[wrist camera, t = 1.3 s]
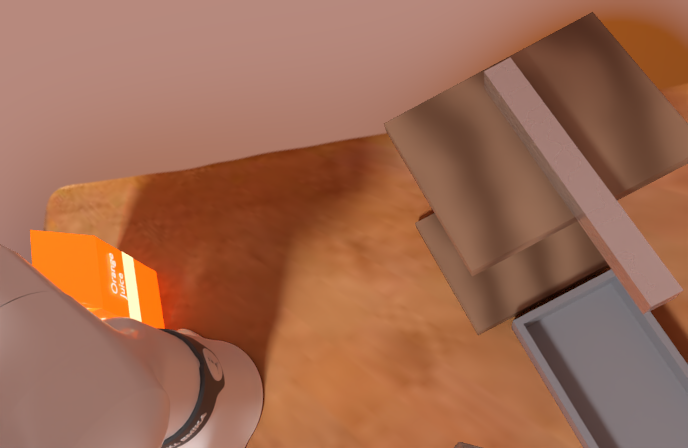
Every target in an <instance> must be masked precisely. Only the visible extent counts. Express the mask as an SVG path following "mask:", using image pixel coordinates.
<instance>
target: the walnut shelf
mask: <svg viewBox="0 0 688 448" xmlns="http://www.w3.org/2000/svg"><path fill="white" fill-rule="evenodd" d="M508 58H511V59H512V60H513V62H514V63H515V64H516V66H517V67H518V68H519V70H520V71H521V72H522V74H523V75H524V76H525V78H526V79H527V80H528V82H529V83H530V84H531V86H532V87H533V88H534V90H535V91H536V93H537V94H538V95H539V97H540V98H541V99H542V101H543V102H544V103H545V105H546V106H547V107H548V109H549V110H550V111H551V113H552V114H553V115H554V117H555V118H556V119H557V121H558V122H559V123H560V125H561V126H562V127H563V129H564V130H565V132H566V133H567V134H568V136H569V137H570V138H571V140H572V141H573V142H574V144H575V145H576V146H577V148H578V149H579V150H580V152H581V153H582V154H583V156H584V157H585V158H586V160H587V161H588V162H589V164H590V165H591V167H592V168H593V169H594V171H595V172H596V173H597V175H598V176H599V177H600V179H601V180H602V181H603V183H604V184H605V185H606V187H607V188H608V189H609V191H610V192H611V193H612V195H613V196H614V197H615V199H616V200H619V199H621V198H623V197H625V196H627V195H628V194H630V193H632V192H634V191H636V190H638V189H640V188H642V187H644V186H646V185H648V184H649V183H651V182H653V181H655V180H657V179H659V178H661V177H663V176H665V175H667V174H668V173H670V172H672V171H674V170H676V169H678V168H680V167H682V166H684V165H686V164H688V123H687V122H686V121H685V120H684V119H683V118H682V116H681V115H680V114H679V113H678V112H677V110H676V109H675V108H674V107H673V106H672V105H671V103H670V102H669V101H668V100H667V99H666V98H665V96H664V95H663V94H662V93H661V92H660V91H659V89H658V88H657V87H656V86H655V85H654V83H653V82H652V81H651V80H650V79H649V78H648V76H647V75H646V74H645V73H644V72H643V71H642V69H640V67H639V66H638V65H637V64H636V62H635V61H634V60H633V59H632V58H631V57H630V55H629V54H628V53H627V52H626V51H625V49H623V47H622V46H621V45H620V44H619V42H618V41H617V40H616V39H615V38H614V37H613V35H612V34H611V33H610V32H609V31H608V30H607V28H606V27H605V26H604V25H603V24H602V22H601V21H600V20H599V19H598V18H597V17H596V16H595V14H594V13H593V12H592V13H590V14H588V15H586V16H584V17H582V18H581V19H579V20H577V21H575V22H573V23H571V24H569V25H568V26H566V27H564V28H562V29H560V30H558V31H556V32H555V33H553V34H551V35H549V36H547V37H545V38H543V39H541V40H539V41H538V42H536V43H534V44H532V45H531V46H528V47H526V48H525V49H523V50H521V51H519V52H517V53H515V54H514V55H511V56H510V57H508ZM508 58H506V59H508ZM506 59H504V60H506ZM504 60H502V61H500V62H498V63H497V64H499V63H501V62H503V61H504ZM497 64H494V65H493V66H495V65H497ZM493 66H491V67H493ZM491 67H489V68H491ZM489 68H487V69H485V70H483V71H481V72H480V73H478V74H476V75H474V76H472V77H470V78H468V79H467V80H465V81H463V82H461V83H459V84H457V85H455V86H453V87H452V88H450V89H448V90H446V91H444V92H442V93H440V94H438V95H436V96H435V97H433V98H431V99H429V100H427V101H425V102H424V103H421V104H420V105H418V106H416V107H414V108H412V109H410V110H408V111H407V112H405V113H403V114H401V115H399V116H397V117H395V118H393V119H392V120H390V121H388V122H386V123H384V125H385V129H386V132H387V134H388V135H389V137H390V139H391V140H392V142H393V144H394V145H395V147H396V149H397V150H398V152H399V154H400V156H401V157H402V159H403V161H404V162H405V164H406V166H407V167H408V169H409V171H410V172H411V174H412V176H413V177H414V179H415V181H416V183H417V184H418V186H419V188H420V189H421V191H422V193H423V194H424V196H425V198H426V199H427V201H428V203H429V205H430V206H431V208H432V210H433V211H434V213H433V214H431V215H430V216H428V217H426V218H424V219H422V220H420V221H418V222H416V223H415V224H416V228H417V229H418V231H419V233H420V235H421V236H422V238H423V240H424V242H425V243H426V245H427V247H428V249H429V250H430V252H431V254H432V256H433V257H434V259H435V261H436V263H437V264H438V266H439V268H440V270H441V271H442V273H443V275H444V277H445V278H446V280H447V282H448V284H449V285H450V287H451V289H452V291H453V292H454V294H455V296H456V298H457V299H458V301H459V303H460V305H461V306H462V308H463V310H464V312H465V313H466V315H467V317H468V319H469V320H470V322H471V324H472V326H473V327H474V329H475V331H476V333H477V334H478V335H479V334H481V333H483V332H485V331H487V330H489V329H491V328H493V327H495V326H497V325H499V324H501V323H502V322H504V321H506V320H508V319H510V318H512V317H514V316H516V315H518V314H520V313H522V312H523V311H525V310H527V309H529V308H531V307H533V306H535V305H537V304H539V303H541V302H543V301H545V300H546V299H548V298H550V297H552V296H554V295H556V294H558V293H560V292H562V291H564V290H566V289H568V288H569V287H571V286H573V285H575V284H577V283H579V282H581V281H583V280H585V279H587V278H589V277H590V276H592V275H594V274H596V273H598V272H600V271H602V270H604V269H606V268H608V267H610V266H609V265H608V264H607V262H606V261H605V259H604V258H603V256H602V255H601V254H600V252H599V251H598V249H597V248H596V246H595V245H594V244H593V242H592V241H591V239H590V238H589V236H588V235H587V234H586V232H585V231H584V229H583V228H582V226H581V225H580V224H579V222H578V221H577V219H576V218H575V216H574V215H573V214H572V212H571V211H570V209H569V208H568V206H567V205H566V204H565V202H564V201H563V199H562V198H561V196H560V195H559V194H558V192H557V191H556V189H555V188H554V186H553V185H552V184H551V182H550V181H549V179H548V178H547V176H546V175H545V174H544V172H543V171H542V169H541V168H540V166H539V165H538V164H537V162H536V161H535V159H534V158H533V156H532V155H531V154H530V152H529V151H528V149H527V148H526V146H525V145H524V144H523V142H522V141H521V139H520V138H519V136H518V135H517V134H516V132H515V131H514V129H513V128H512V126H511V125H510V124H509V122H508V121H507V119H506V118H505V116H504V115H503V114H502V112H501V111H500V109H499V108H498V106H497V105H496V104H495V102H494V101H493V99H492V98H491V96H490V95H489V94H488V92H487V91H486V89H485V88H484V71H486V70H488V69H489Z"/></svg>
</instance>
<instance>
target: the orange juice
mask: <svg viewBox="0 0 688 448" xmlns="http://www.w3.org/2000/svg"><path fill="white" fill-rule="evenodd" d="M30 237H31V251H32V266H34V267H35V268H36V269H37V270H38V271H40V272H41V273H42V274H43V275H44V276H45V277H47V278H48V279H49V280H50V281H51V282H53V283H54V284H55V285H56V286H57V287H59V288H60V289H61V290H62V291H63V292H64V293H66V294H68V295H70V296H71V297H73V298H74V299H75V300H77V301H78V302H79V303H80V304H82V305H83V306H84V307H85V308H87V309H88V310H89V311H91V312H92V313H93V314H95V315H96V316H97V317H99V318H100V319H102V320H104V319H108V318H113V317H128V318H132V319H135V320H138V321H140V322H142V323H145V324H147V325H150V326H152V327H155V328H162V329H165V327H164V321H163V314H162V307H161V301H160V294H159V288H158V281H157V274H156V271H154V270H152V269H150V268H149V267H147V266H145V265H144V264H142V263H140V262H138V261H137V260H135V259H133V258H132V257H131V256H129V255H127V254H125V253H124V252H121V251H119V250H118V249H116V248H114V247H112V246H111V245H109V244H107V243H105V242H104V241H102V240H100V239H99V238H97V237H95V236H93V235H92V236H91V235H80V234H69V233H59V232H48V231H37V230H30Z"/></svg>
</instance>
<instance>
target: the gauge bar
mask: <svg viewBox="0 0 688 448" xmlns="http://www.w3.org/2000/svg"><path fill="white" fill-rule="evenodd" d="M484 88H485V89H486V91H487V92H488V94H489V95H490V96H491V98H492V99H493V101H494V102H495V104H496V105H497V106H498V108H499V109H500V111H501V112H502V114H503V115H504V116H505V118H506V119H507V121H508V122H509V124H510V125H511V126H512V128H513V129H514V131H515V132H516V134H517V135H518V136H519V138H520V139H521V141H522V142H523V144H524V145H525V146H526V148H527V149H528V151H529V152H530V154H531V155H532V156H533V158H534V159H535V161H536V162H537V164H538V165H539V166H540V168H541V169H542V171H543V172H544V174H545V175H546V176H547V178H548V179H549V181H550V182H551V184H552V185H553V186H554V188H555V189H556V191H557V192H558V194H559V195H560V196H561V198H562V199H563V201H564V202H565V204H566V205H567V206H568V208H569V209H570V211H571V212H572V214H573V215H574V216H575V218H576V219H577V221H578V222H579V224H580V225H581V226H582V228H583V229H584V231H585V232H586V234H587V235H588V236H589V238H590V239H591V241H592V242H593V244H594V245H595V246H596V248H597V249H598V251H599V252H600V254H601V255H602V256H603V258H604V259H605V261H606V262H607V264H608V265H609V266H610V268H611V269H612V271H613V272H614V274H615V275H616V276H617V278H618V279H619V281H620V282H621V283H622V285H623V286H624V288H625V289H626V291H627V292H628V293H629V295H630V296H631V298H632V299H633V301H634V302H635V303H636V305H637V306H638V308H639V309H640V311H641V312H642V313H643V315H644V314H646V313H648V312H650V311H651V310H653V309H655V308H657V307H659V306H661V305H663V304H665V303H667V302H669V301H671V300H673V299H674V298H675V297H676V296H678V295H679V294H680V293H681V292H682V291H683V289H682V288H681V286H680V285H679V284H678V282H677V281H676V280H675V278H674V277H673V276H672V274H671V273H670V271H669V270H668V269H667V267H666V266H665V265H664V263H663V262H662V261H661V259H660V258H659V257H658V255H657V254H656V253H655V251H654V250H653V249H652V247H651V246H650V245H649V243H648V242H647V241H646V239H645V238H644V237H643V235H642V234H641V232H640V231H639V230H638V228H637V227H636V226H635V224H634V223H633V222H632V220H631V219H630V218H629V216H628V215H627V214H626V212H625V211H624V210H623V208H622V207H621V206H620V204H619V203H618V202H617V200H616V199H615V197H614V196H613V195H612V193H611V192H610V191H609V189H608V188H607V187H606V185H605V184H604V183H603V181H602V180H601V179H600V177H599V176H598V175H597V173H596V172H595V171H594V169H593V168H592V167H591V165H590V164H589V162H588V161H587V160H586V158H585V157H584V156H583V154H582V153H581V152H580V150H579V149H578V148H577V146H576V145H575V144H574V142H573V141H572V140H571V138H570V137H569V136H568V134H567V133H566V132H565V130H564V129H563V127H562V126H561V125H560V123H559V122H558V121H557V119H556V118H555V117H554V115H553V114H552V113H551V111H550V110H549V109H548V107H547V106H546V105H545V103H544V102H543V101H542V99H541V98H540V97H539V95H538V94H537V93H536V91H535V90H534V88H533V87H532V86H531V84H530V83H529V82H528V80H527V79H526V78H525V76H524V75H523V74H522V72H521V71H520V70H519V68H518V67H517V66H516V64H515V63H514V62H513V60H512V59H511V58H508V59H506V60H504V61H503V62H501V63H499V64H497V65H495V66H493V67H491V68H489V69H488V70H486V71H484Z"/></svg>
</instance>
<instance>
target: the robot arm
mask: <svg viewBox="0 0 688 448" xmlns="http://www.w3.org/2000/svg"><path fill="white" fill-rule="evenodd" d="M262 404H263V388H262V382H261V378H260V375H259V372H258V370H257V368H256V366H255V364H254V363H253V361H252V360H251V359H250V357H249V356H248V355H247V354H246V353H245V352H244V351H243V350H241V349H240V348H238V347H237V346H235V345H233V344H231V343H228V342H225V341H220V340H212V339H206V338H203V337H201V336H200V335H198V334H197V333H195V332H193V331H191V330H188V329H179V330H177V331H175V330H170V329H162V328H155V327H152V326H150V325H147V324H145V323H142V322H140V321H138V320H135V319H132V318H128V317H113V318H108V319H104V320H102V319H100V318H99V317H97V316H96V315H95V314H93V313H92V312H91V311H89V310H88V309H87V308H85V307H84V306H83V305H82V304H80V303H79V302H78V301H77V300H75V299H74V298H73V297H71V296H70V295H68V294H66V293H64V292H63V291H62V290H61V289H60V288H59V287H57V286H56V285H55V284H54V283H53V282H51V281H50V280H49V279H48V278H47V277H45V276H44V275H43V274H42V273H41V272H40V271H38V270H37V269H36V268H35V267H34V266H32V265H31V264H30V263H29V262H28V261H26V260H25V259H24V258H23V257H22V256H20V255H19V254H18V253H16V252H15V251H12V250H11V249H9V248H7V247H4V246H2V245H1V244H0V448H245V446H246V444H247V442H248V440H249V439H250V437H251V435H252V434H253V432H254V430H255V428H256V426H257V424H258V421H259V418H260V415H261V410H262ZM454 448H482V447H478V446H474V445H470V444H466V443H463V442H459V443H458V444H457V445H455V447H454Z"/></svg>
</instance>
